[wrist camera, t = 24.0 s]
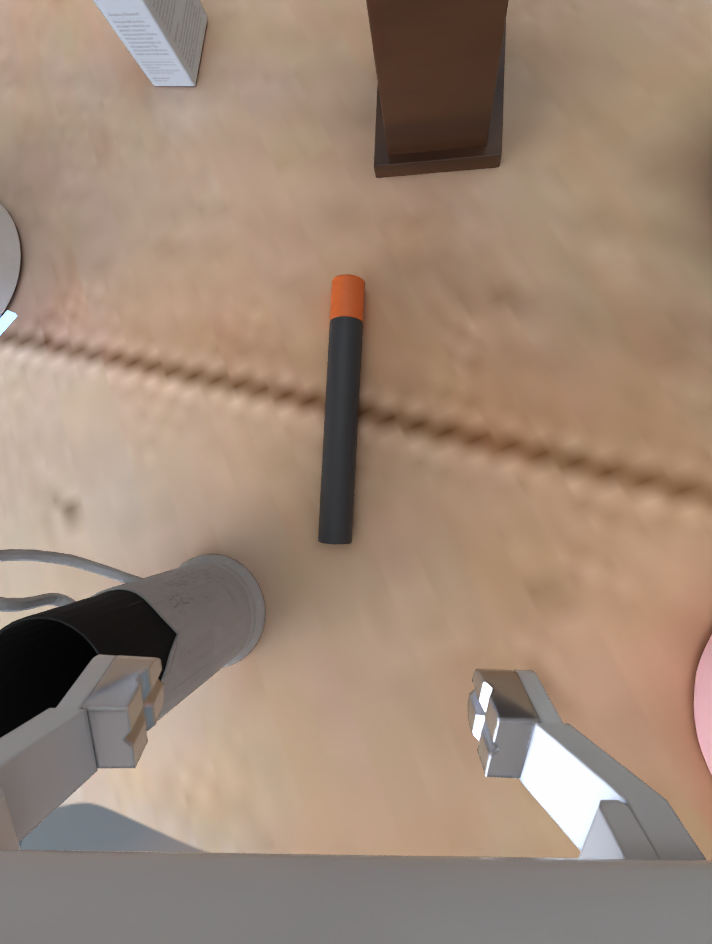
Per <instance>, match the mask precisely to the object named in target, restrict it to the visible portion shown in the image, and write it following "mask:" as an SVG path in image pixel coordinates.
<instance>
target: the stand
mask: <svg viewBox="0 0 712 944" xmlns="http://www.w3.org/2000/svg"><path fill="white" fill-rule="evenodd" d="M366 2H367V9H368V16H369V23H370V30H371V37H372V44H373V52H374V59H375V66H376V73H377V80H378V87H377V110H376V133H375V156H374V169H375V174H376V177H389V176H400V175H412V174H423V173H434V172H446V171H457V170H469V169H480V168H492V167H499V165H500V160H501V155H502V124H503V94H504V63H505V32H506V14H507V7H508V0H366Z"/></svg>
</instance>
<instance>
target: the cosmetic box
mask: <svg viewBox="0 0 712 944" xmlns="http://www.w3.org/2000/svg"><path fill="white" fill-rule="evenodd" d="M93 1H94V3H95V4H96V6H97V7H98V8H99V10H100V11H101V13H102V14H103V15H104V17H105V18H106V20H107V21H108V22H109V24H110V25H111V27H112V28H113V29H114V31H115V32H116V34H117V35H118V37H119V38H120V39H121V41H122V42H123V44H124V45H125V46H126V48H127V49H128V51H129V52H130V53H131V55H132V56H133V58H134V59H135V60H136V62H137V63H138V65H139V66H140V67H141V69H142V70H143V72H144V73H145V74H146V76H147V77H148V79H149V80H150V81H151V83H152V84H153V85H154V86H195V85H196V80H197V74H198V68H199V63H200V58H201V52H202V46H203V41H204V35H205V30H206V24H207V15H206V13H205V11H204V9H203V7H202V5H201V3H200V1H199V0H93Z"/></svg>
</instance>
